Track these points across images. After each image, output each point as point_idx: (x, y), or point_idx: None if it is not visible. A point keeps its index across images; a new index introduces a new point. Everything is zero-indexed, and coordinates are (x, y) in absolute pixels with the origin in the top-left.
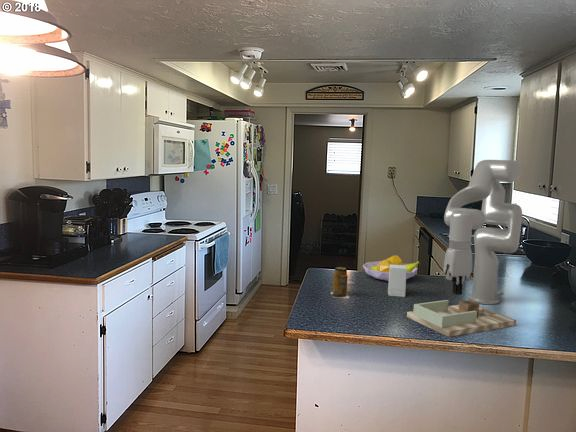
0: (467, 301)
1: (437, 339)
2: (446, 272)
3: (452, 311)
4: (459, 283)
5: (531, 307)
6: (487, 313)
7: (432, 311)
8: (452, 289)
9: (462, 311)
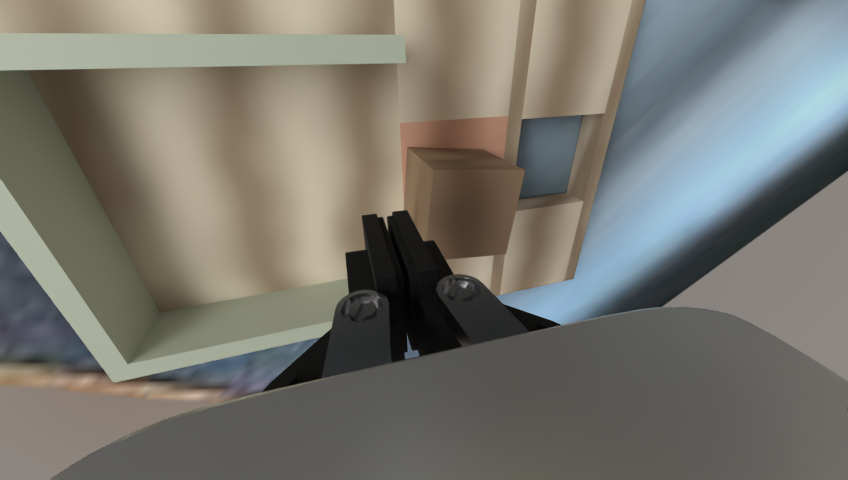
0: (482, 194)
1: (96, 365)
2: (189, 452)
3: (407, 89)
4: (420, 340)
5: (811, 103)
6: (586, 141)
7: (65, 290)
8: (364, 229)
9: (412, 191)
